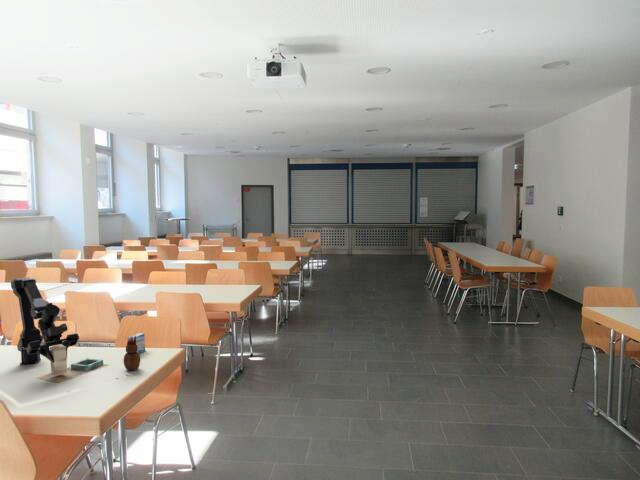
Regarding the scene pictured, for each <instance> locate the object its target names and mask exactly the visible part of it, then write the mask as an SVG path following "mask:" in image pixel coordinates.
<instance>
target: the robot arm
mask: <svg viewBox="0 0 640 480" xmlns="http://www.w3.org/2000/svg"><path fill="white" fill-rule="evenodd" d="M10 288H11V290H12V293H13V294H14V295H15V296H16V297H17V298H18V305H19V310H20V317H21V323H22V331H21V332H20V334H19V340H18V343H17V351H18V352H20V357H21V361H20V363H19V365H34V364H37V363H38V362H40V361H42V359H41V356H43V357H45V358H46V359H47V360H48V361H50V363H51V362H52V363H53V362H54V359H53V356H52V354H51V352H50V347H53V346H58V345H63V346H66V359H68V349H69V348H70V347H73V346H75V345H77V343H78V341H79V340H80V336H79V334H78V333H76V332H75V333H70V334H67V335H66V337H65V338H62V337H63V334H64V332H65V333H66V332H68V326H67V323H60V325H57V326H56V324H55V322H56V321H57V319H58V316H59V314H60V311H61V308H60V307H59V306H58V305H55V304H53V303H52V302H49V301H47V300H45V299H44V298H43V296H42V294H41V292H40V290H39V288H38V286H37V281H36V279H35V278H32V277H31V278H30V277H18V278H13V279H12V281H11V282H10ZM35 320H38V321H37V327H36V325H35Z"/></svg>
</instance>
